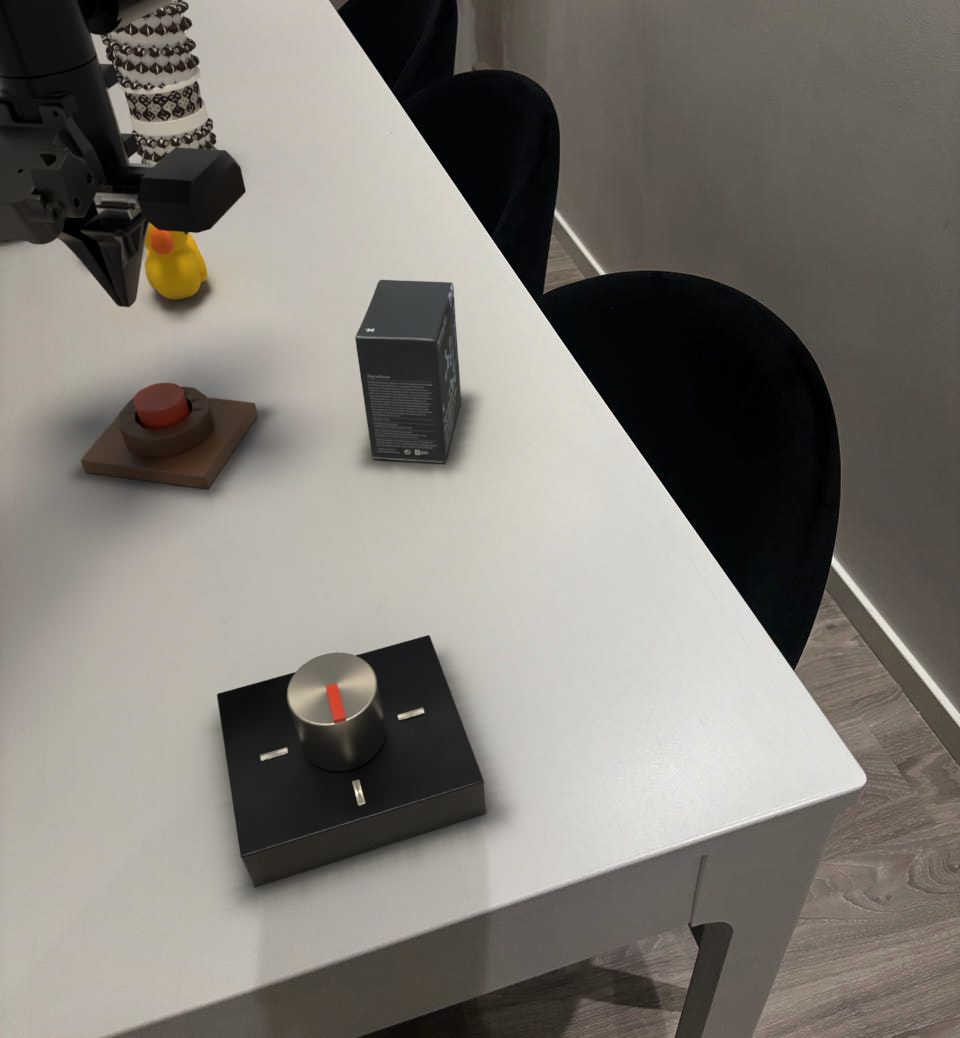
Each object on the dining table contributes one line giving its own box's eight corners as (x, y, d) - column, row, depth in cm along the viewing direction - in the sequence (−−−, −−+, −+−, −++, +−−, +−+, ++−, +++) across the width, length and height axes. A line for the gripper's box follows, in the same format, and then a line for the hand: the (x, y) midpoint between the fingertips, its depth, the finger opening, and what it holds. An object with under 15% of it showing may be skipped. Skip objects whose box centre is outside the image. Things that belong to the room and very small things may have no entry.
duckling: (214, 319, 86) (185, 214, 80) (153, 329, 86) (118, 224, 79) (209, 260, 95) (183, 160, 88) (154, 269, 94) (123, 169, 87)
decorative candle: (152, 214, 103) (73, -51, 86) (141, 181, 109) (66, -72, 92) (236, 197, 105) (176, -66, 88) (221, 165, 111) (162, -85, 94)
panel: (253, 887, 47) (239, 855, 45) (228, 725, 54) (215, 691, 52) (487, 813, 49) (484, 779, 47) (433, 667, 56) (429, 632, 54)
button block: (85, 472, 71) (71, 440, 69) (144, 401, 78) (133, 370, 76) (207, 489, 69) (197, 457, 67) (258, 414, 76) (250, 383, 74)
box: (447, 464, 70) (435, 339, 63) (371, 460, 71) (351, 336, 64) (463, 400, 76) (454, 278, 68) (393, 397, 76) (376, 276, 69)
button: (131, 427, 71) (124, 408, 70) (154, 399, 73) (148, 379, 72) (175, 433, 70) (169, 413, 69) (197, 404, 73) (191, 384, 71)
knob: (294, 712, 51) (279, 661, 48) (376, 690, 52) (365, 638, 49) (308, 782, 48) (293, 732, 45) (395, 757, 49) (385, 706, 46)
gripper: (-195, 107, 51) (-66, 356, 62) (119, 123, 47) (199, 386, 58) (-61, 39, 59) (33, 271, 69) (218, 48, 55) (272, 292, 65)
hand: (127, 304), depth 65 cm, fingers closed
